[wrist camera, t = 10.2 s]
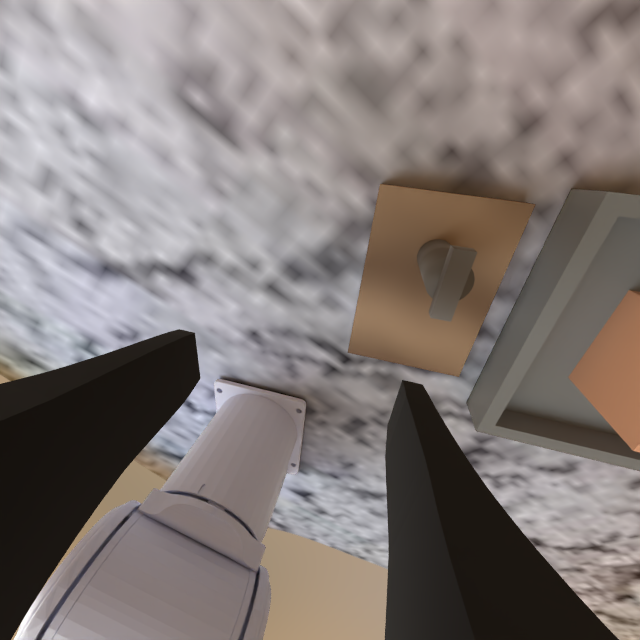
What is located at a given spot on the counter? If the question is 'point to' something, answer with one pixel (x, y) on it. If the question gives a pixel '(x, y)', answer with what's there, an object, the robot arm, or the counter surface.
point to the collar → (615, 371)
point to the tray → (563, 332)
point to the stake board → (404, 284)
